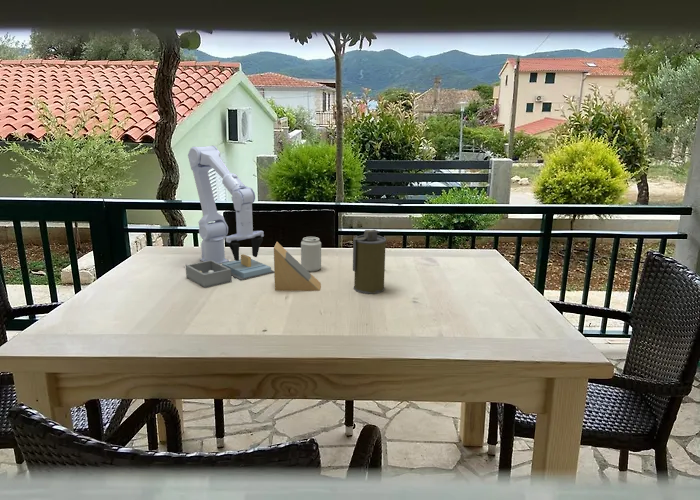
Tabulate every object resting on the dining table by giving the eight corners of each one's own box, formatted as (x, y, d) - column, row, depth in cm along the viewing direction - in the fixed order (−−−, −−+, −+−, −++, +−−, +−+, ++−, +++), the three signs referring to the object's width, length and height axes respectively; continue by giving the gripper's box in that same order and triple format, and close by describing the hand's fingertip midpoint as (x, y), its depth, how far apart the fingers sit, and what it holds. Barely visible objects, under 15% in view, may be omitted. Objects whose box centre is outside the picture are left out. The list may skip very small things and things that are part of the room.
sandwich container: (321, 291, 172) (321, 247, 168) (274, 291, 171) (273, 247, 167) (321, 282, 180) (321, 241, 176) (277, 282, 179) (276, 240, 175)
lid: (222, 267, 192) (221, 254, 191) (248, 262, 199) (248, 248, 198) (243, 278, 181) (243, 263, 180) (271, 271, 188) (270, 257, 187)
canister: (376, 282, 181) (378, 226, 176) (389, 291, 172) (392, 233, 166) (347, 285, 177) (348, 228, 172) (359, 295, 168) (360, 235, 162)
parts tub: (186, 277, 182) (185, 265, 181) (212, 271, 189) (211, 260, 188) (204, 287, 172) (204, 275, 171) (231, 281, 179) (231, 269, 178)
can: (318, 272, 190) (318, 241, 186) (298, 271, 191) (298, 240, 188) (323, 266, 197) (323, 236, 194) (303, 265, 198) (303, 235, 195)
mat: (218, 269, 192) (218, 268, 191) (251, 262, 201) (251, 261, 200) (240, 280, 180) (240, 279, 180) (274, 272, 189) (274, 271, 189)
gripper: (231, 226, 178) (233, 264, 181) (267, 221, 187) (268, 257, 191) (221, 223, 183) (223, 260, 186) (257, 217, 192) (258, 253, 196)
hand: (245, 258), depth 189 cm, fingers open, 7 cm apart
